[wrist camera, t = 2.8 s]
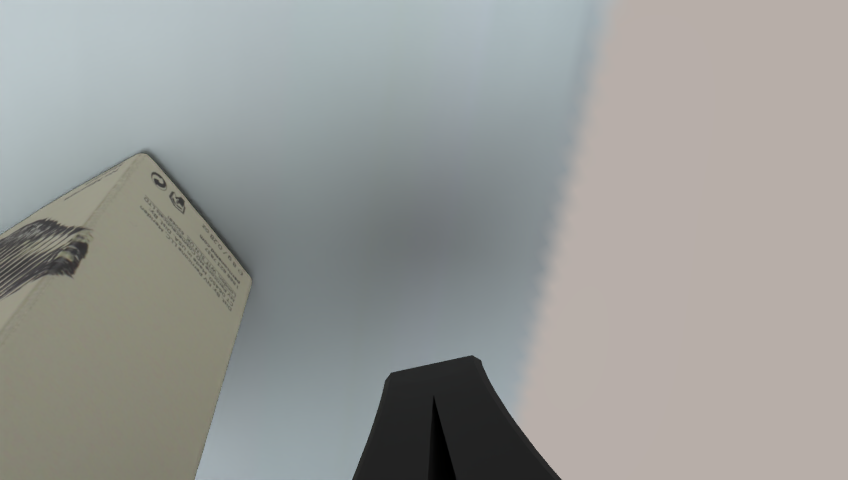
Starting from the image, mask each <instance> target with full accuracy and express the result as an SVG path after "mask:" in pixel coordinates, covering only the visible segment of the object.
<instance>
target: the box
mask: <svg viewBox="0 0 848 480" xmlns="http://www.w3.org/2000/svg"><path fill="white" fill-rule="evenodd" d="M251 284H252V279H251V278H250V276H249V275H248V274H247V272H246V271H245V270H244V269H243V267H242V266H241V265H240V264H239V262H238V261H237V260H236V258H235V257H234V256H233V255H232V253H231V252H230V251H229V250H228V248H227V247H226V246H225V245H224V244H223V242H222V241H221V240H220V239H219V238H218V236H217V235H216V234H215V233H214V231H213V230H212V229H211V227H210V226H209V225H208V224H207V223H206V221H205V220H204V219H203V218H202V217H201V216H200V215H199V213H198V212H197V211H196V210H195V209H194V208H193V206H192V205H191V204H190V202H189V201H188V200H187V199H186V197H185V196H184V195H183V194H182V193H181V192H180V190H179V189H178V188H177V187H176V186H175V185H174V183H173V182H172V181H171V180H170V179H169V178H168V177H167V175H166V174H165V173H164V172H163V171H162V170H161V169H160V167H159V166H158V165H157V164H156V163H155V162H154V161H153V160H152V159H151V158H150V157H149V156H148V155H147V154H143V153H139V154H137V155H135V156H133V157H131V158H129V159H127V160H125V161H124V162H122V163H120V164H118V165H117V166H115V167H113V168H111V169H109V170H107V171H106V172H104V173H102V174H100V175H98V176H97V177H95V178H93V179H91V180H90V181H88V182H86V183H84V184H82V185H81V186H79V187H77V188H75V189H74V190H72V191H70V192H68V193H67V194H65V195H63V196H62V197H60V198H58V199H57V200H55V201H53V202H52V203H50V204H48V205H47V206H45V207H44V208H42V209H40V210H38V211H37V212H35V213H34V214H32V215H31V216H30V217H28V218H26V219H25V220H23V221H22V222H20V223H19V224H17V225H16V226H14V227H12V228H11V229H9V230H8V231H6V232H5V233H3V234H2V235H0V480H194V479H195V476H196V472H197V469H198V466H199V463H200V459H201V456H202V453H203V449H204V446H205V442H206V439H207V435H208V432H209V429H210V425H211V422H212V418H213V415H214V411H215V407H216V404H217V401H218V397H219V394H220V391H221V387H222V384H223V380H224V377H225V373H226V370H227V367H228V363H229V360H230V356H231V353H232V349H233V346H234V343H235V340H236V336H237V333H238V330H239V326H240V323H241V320H242V316H243V313H244V309H245V306H246V302H247V299H248V295H249V292H250V289H251Z"/></svg>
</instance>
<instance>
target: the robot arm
mask: <svg viewBox="0 0 848 480" xmlns="http://www.w3.org/2000/svg"><path fill="white" fill-rule="evenodd" d="M352 480H561V478H560V477H559V476H558V475H557V474H556V473H555V472H554V471H553V469H552V468H551V467H550V466H549V465H548V463H547V462H546V461H545V460H544V459H543V457H542V456H541V455H540V454H539V452H538V451H537V450H536V449H535V447H534V446H533V445H532V443H531V442H530V441H529V439H528V438H527V437H526V435H525V434H524V433H523V432H522V430H521V429H520V428H519V426H518V425H517V424H516V422H515V421H514V419H513V418H512V416H511V415H510V414H509V412H508V411H507V409H506V408H505V406H504V404H503V403H502V401H501V400H500V398H499V397H498V395H497V393H496V392H495V390H494V388H493V386H492V385H491V383H490V381H489V379H488V377H487V375H486V373H485V370H484V368H483V366H482V362H481V360H479V359H478V358H476V357H474V356H473V355H471V356H466V357H462V358H457V359H452V360H448V361H443V362H439V363H434V364H429V365H425V366H420V367H416V368H411V369H406V370H402V371H397V372H392V373H391V374H390V375H389V376H388V378H387V379H386V380H385V384H384V389H383V393H382V397H381V400H380V404H379V407H378V410H377V414H376V417H375V420H374V423H373V426H372V429H371V432H370V435H369V438H368V440H367V443H366V446H365V448H364V451H363V453H362V456H361V458H360V461H359V464H358V466H357V469H356V471H355V474H354V476H353V479H352Z"/></svg>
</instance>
